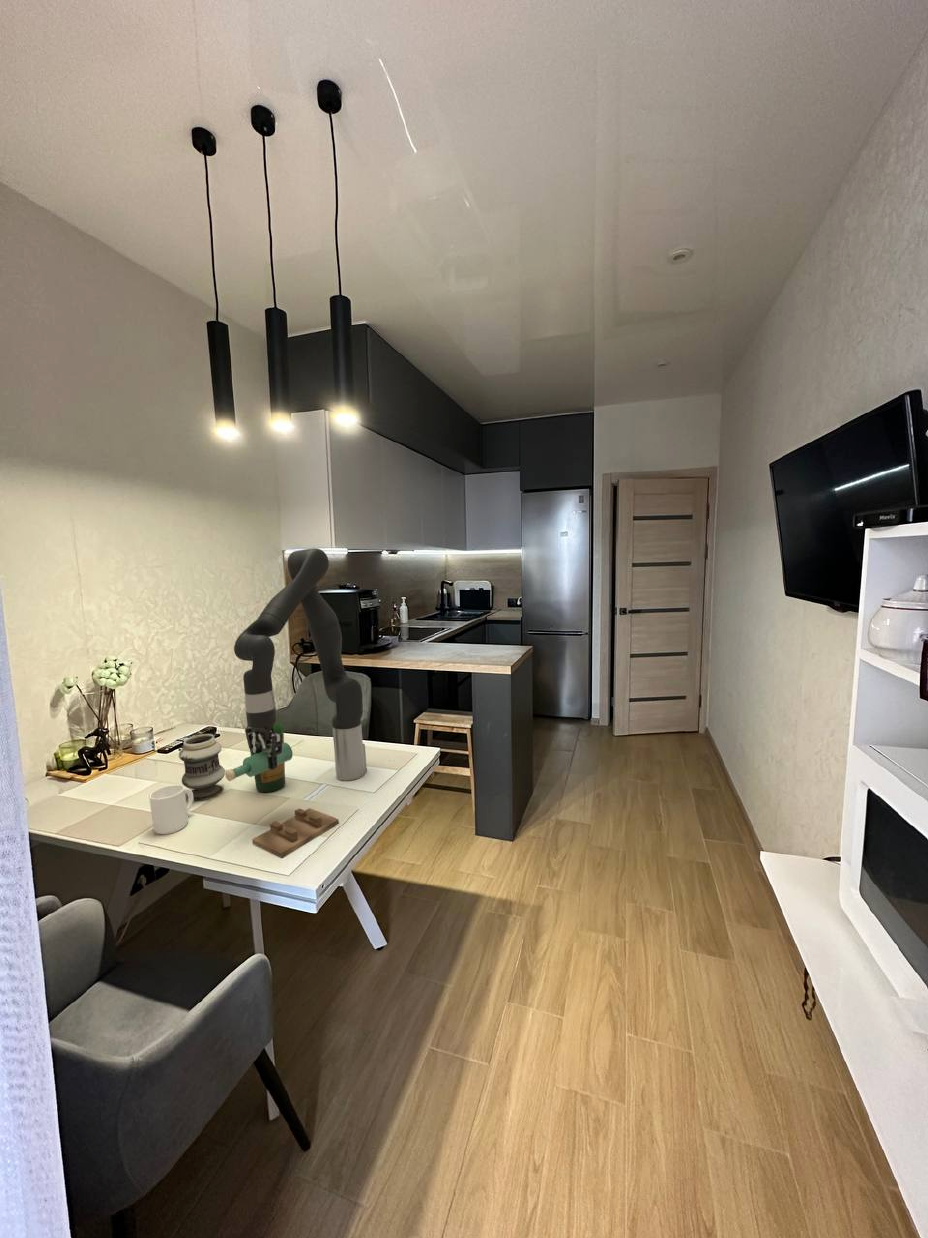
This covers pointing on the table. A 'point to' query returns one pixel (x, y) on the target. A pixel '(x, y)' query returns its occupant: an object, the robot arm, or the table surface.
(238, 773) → the bottle
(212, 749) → the apothecary jar
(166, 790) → the mug
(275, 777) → the bottle
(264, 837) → the bottle rest
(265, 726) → the robot arm
